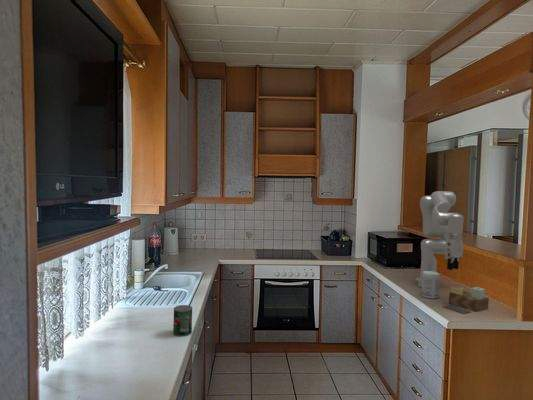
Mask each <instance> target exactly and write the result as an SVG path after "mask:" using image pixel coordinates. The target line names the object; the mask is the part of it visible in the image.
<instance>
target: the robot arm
mask: <svg viewBox="0 0 533 400" xmlns="http://www.w3.org/2000/svg"><path fill="white" fill-rule="evenodd" d="M456 203H457V196H456V194H455V193H454V192H453V191H443V190H438V191H434V192H432V193H431V194H430V195H424V196H422V197H421V198H420V201H419V206H420V207H419V208H420V211H421V215H422V233H423V235H424V236H425V237H429V238H425V239H422V240H421V242H420V250H421V253H420V254H421V256H420V257H421V261H420V263H421V264H420V273H419V274H420V277H418V276H417V277H416V278H415V281H417V286H418V287H420V288H422V276H423V272H424V271H433V272H437V268H438V267H437V264H438V261H437V258H436V257H435V255H444V258H445V260H446V262H447V263H446V269H447V270H449V271H453V269H454V270H459V263H460V260H461V258H462V257H463V255H464V243H463V242H464V241H463V231H464V216H463V215H462V214H460V213H457V212H449V211H450V210H451V207H453V206H454V205H455V204H456ZM438 238H439V239H438Z"/></svg>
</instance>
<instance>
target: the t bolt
mask: <svg viewBox="0 0 533 400" xmlns="http://www.w3.org/2000/svg"><path fill="white" fill-rule="evenodd" d="M465 291H466V290H465V287H462V286H461V287H454V286H452V287H450V293H455V294H458V295H461V296H464V294H465Z"/></svg>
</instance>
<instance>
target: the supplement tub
mask: <svg viewBox="0 0 533 400" xmlns="http://www.w3.org/2000/svg"><path fill="white" fill-rule="evenodd" d="M439 294H440V273H439V272H437V271H436V272H433V271H424V272H423V276H422V287H421V296H422V297H423V298H426V299H430V298H431V299H432V300H433V299H434V300H435V299H438V298H439V296H440V295H439Z"/></svg>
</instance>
